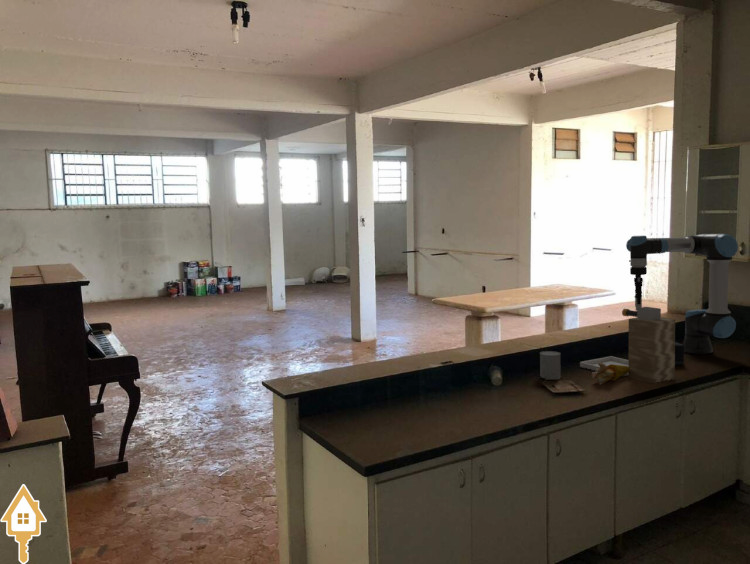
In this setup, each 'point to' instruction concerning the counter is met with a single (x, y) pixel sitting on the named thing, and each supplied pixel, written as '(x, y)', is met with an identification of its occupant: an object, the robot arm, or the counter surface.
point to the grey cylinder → (550, 365)
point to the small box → (679, 354)
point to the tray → (606, 360)
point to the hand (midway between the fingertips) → (638, 308)
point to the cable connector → (644, 313)
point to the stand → (652, 349)
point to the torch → (609, 372)
